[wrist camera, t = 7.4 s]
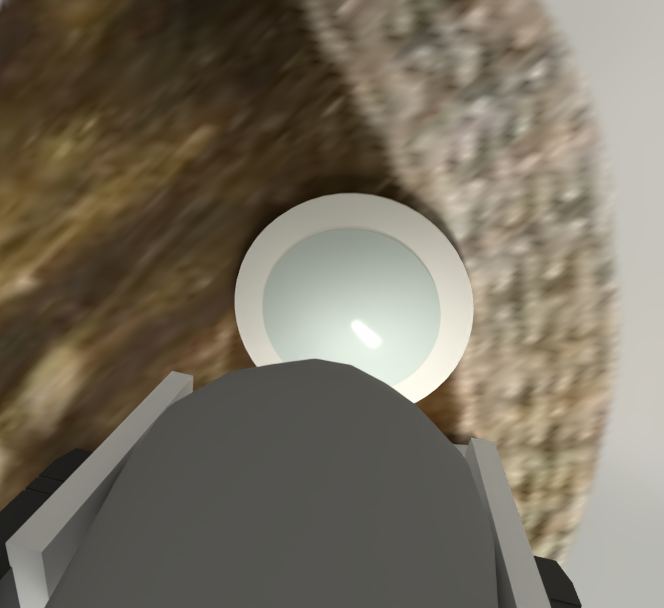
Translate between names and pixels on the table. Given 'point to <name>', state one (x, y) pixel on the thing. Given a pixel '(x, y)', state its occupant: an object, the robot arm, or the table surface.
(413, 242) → the saucer
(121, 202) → the table surface
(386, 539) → the cup
